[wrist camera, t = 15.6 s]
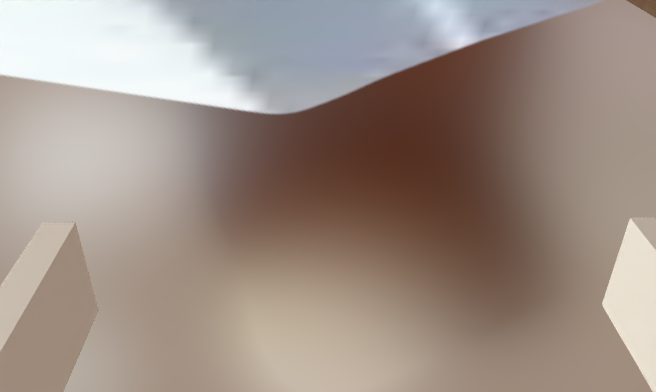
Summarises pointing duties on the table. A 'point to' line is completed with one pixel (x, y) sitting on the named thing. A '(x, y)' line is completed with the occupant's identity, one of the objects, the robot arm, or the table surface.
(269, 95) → the table surface
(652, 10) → the cabinet frame
